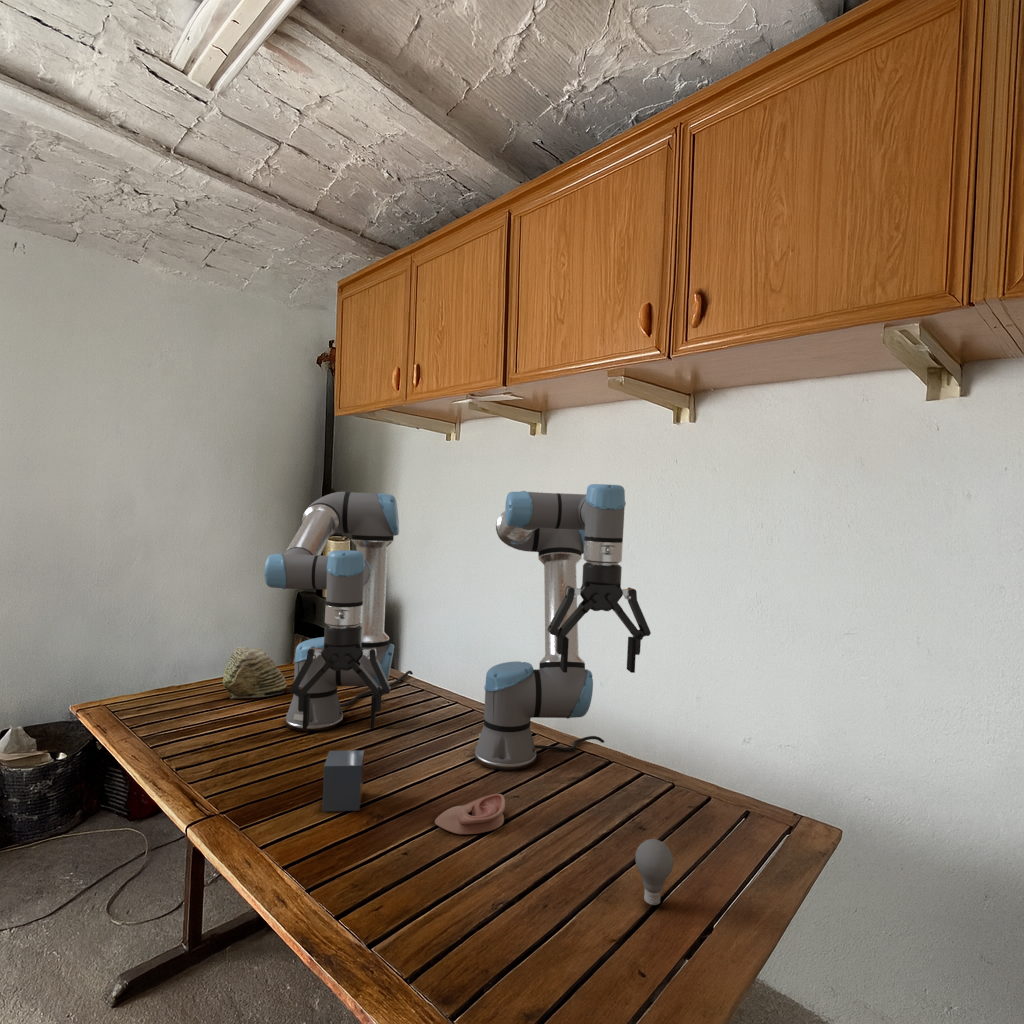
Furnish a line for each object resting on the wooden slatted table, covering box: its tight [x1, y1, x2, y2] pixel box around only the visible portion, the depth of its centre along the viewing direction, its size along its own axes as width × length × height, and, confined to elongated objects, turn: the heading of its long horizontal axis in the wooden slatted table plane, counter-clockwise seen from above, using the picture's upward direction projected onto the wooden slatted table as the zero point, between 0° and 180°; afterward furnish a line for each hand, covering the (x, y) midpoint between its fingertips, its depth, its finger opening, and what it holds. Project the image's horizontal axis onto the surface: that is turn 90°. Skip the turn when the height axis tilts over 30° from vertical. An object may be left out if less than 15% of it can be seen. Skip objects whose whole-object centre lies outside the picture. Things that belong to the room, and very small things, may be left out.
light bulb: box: [634, 838, 674, 906], centre depth 103 cm, size 6×6×10 cm
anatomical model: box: [434, 793, 506, 835], centre depth 126 cm, size 13×4×12 cm
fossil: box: [222, 646, 288, 699], centre depth 198 cm, size 9×18×15 cm, turn 132°
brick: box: [321, 749, 365, 813], centre depth 132 cm, size 7×8×9 cm
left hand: (339, 726), depth 132 cm, fingers open, 13 cm apart
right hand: (597, 670), depth 124 cm, fingers open, 13 cm apart
